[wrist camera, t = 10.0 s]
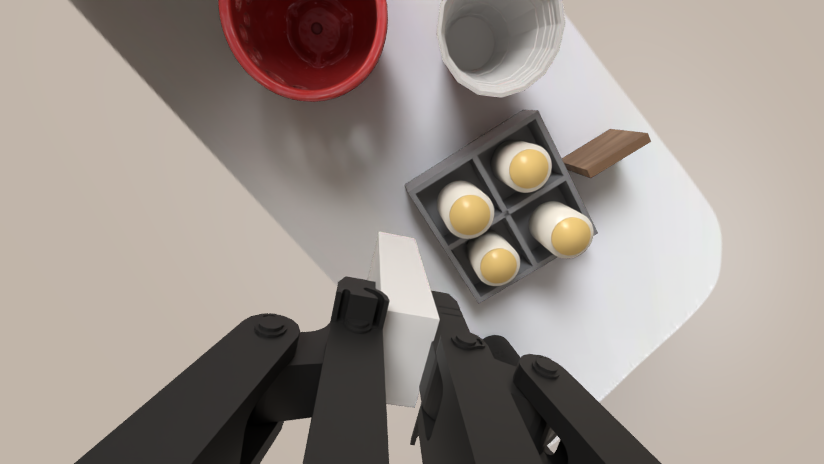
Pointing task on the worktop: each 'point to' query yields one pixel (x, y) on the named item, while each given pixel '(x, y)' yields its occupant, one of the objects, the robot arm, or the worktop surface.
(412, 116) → the worktop surface
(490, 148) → the button board
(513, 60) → the plastic cup
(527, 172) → the button
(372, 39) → the plant pot
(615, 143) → the placard
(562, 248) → the button
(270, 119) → the worktop surface
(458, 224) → the button
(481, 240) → the button
